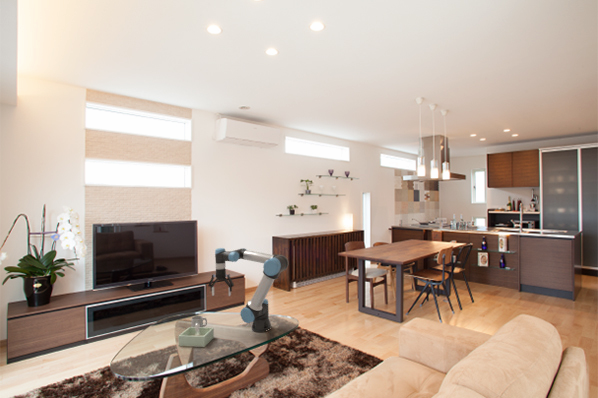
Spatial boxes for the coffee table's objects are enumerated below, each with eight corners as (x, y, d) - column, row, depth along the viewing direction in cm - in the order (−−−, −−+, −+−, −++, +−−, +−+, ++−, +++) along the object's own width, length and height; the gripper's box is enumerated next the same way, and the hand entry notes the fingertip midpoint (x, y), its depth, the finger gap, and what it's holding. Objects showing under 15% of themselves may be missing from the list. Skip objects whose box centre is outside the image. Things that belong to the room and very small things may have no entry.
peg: (198, 341, 239) (198, 324, 239) (194, 341, 239) (194, 324, 239) (200, 339, 242) (200, 323, 242) (196, 339, 242) (196, 322, 242)
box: (213, 337, 245) (213, 327, 245) (204, 346, 229) (204, 336, 229) (189, 336, 248) (189, 326, 248) (178, 345, 232) (178, 335, 232)
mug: (193, 335, 250) (193, 320, 250) (190, 331, 257) (189, 317, 257) (209, 330, 258) (208, 316, 258) (205, 327, 264) (204, 313, 264)
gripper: (237, 267, 260) (238, 294, 260) (207, 267, 264) (208, 293, 264) (234, 269, 253) (235, 297, 253) (203, 269, 257) (204, 296, 257)
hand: (221, 295), depth 259 cm, fingers open, 13 cm apart
